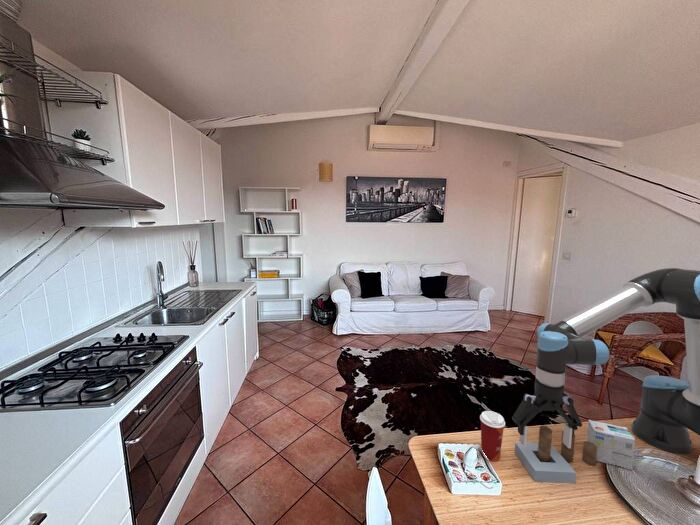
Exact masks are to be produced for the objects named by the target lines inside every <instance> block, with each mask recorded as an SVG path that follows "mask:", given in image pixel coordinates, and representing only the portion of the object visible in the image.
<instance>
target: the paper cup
mask: <svg viewBox="0 0 700 525" xmlns="http://www.w3.org/2000/svg"><path fill="white" fill-rule="evenodd" d="M479 420H480V442H481V444H480V446H481V447H480V448H482V450H483V452H484V453H485V455H486V456H487V458H488V459H489V460H488V461H490V462H498V461H499V460H500V459H501V458H500V457H501V451H502V444H503V436H504V428H505V426H506V421H505V418H504V416H502V415H501V414H500V413H498V412H495V411H492V410H484V411H482V412H481V414H480V415H479Z"/></svg>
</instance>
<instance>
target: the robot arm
mask: <svg viewBox="0 0 700 525" xmlns="http://www.w3.org/2000/svg"><path fill="white" fill-rule="evenodd" d="M657 303H669V304H672V305H675V311H676V312H675V313H676V315H677V316H678V317H679V318H681V319H683V323H684V335H685V336H684V337H685V350H686V351H685V352H686V364H687V365H686V366H687V380H688V382H687V380H686V381H685V380H683V379H681V378H680V379H679V378H676V377H671V376H666V375H665V376H664V375H655V374H653V375H646V376H644V379H643V383H642V385H641V397H640V398H641V400H640V410H639V413H638V414H637V416H636V417H635V419H634V420H633V421H632V424H631V431H632V433H633V434H634V435H635V436H636V437H638V438H639V439H640V440H642V441H643V442H645V443H647V444H649V445H651V446H652V447H655V448H658V449H661V450H664V451H666V452H668V453H669V452H670V453H674V454H680V455H681V454H682V455H685V454H687V455H688V454H690V453H691V452H692V450H693V442H692V440H691V437H690V433H689V430H690V431H692V432H693V433H694V434H696V435H698V436H700V270H695V269H694V270H693V269H686V268H685V269H683V268H677V267H668V268H666V267H665V268H661V269H660V268H659V269H656V270H653V271H649V272H647V273H645V274H644V273H643V274H641V275H639V276H637V277H633V278H631V280H629V281H627V282H625V283H623V285H622V288H620V289H618V290H617V291H615V292H613V293H611V294H609V295H607V296H605V297H603V298H602V299H600V300H597V301H596V302H594V303H592V304H590V305H589V306H586V307H584V308H582V309H581V310H578V311H577V312H575V313H573V314H572V315H570V316H567V317H566V318H564V319H562V320H561V321H558V322H556V323H555V324H554V323H551V322H550V323H549V322H545V323H542V324H540V325H539V326H538V328H537V330H536V335H537V343H536V366H535V379H534V394H533V395H530V394H528V393H524V394H523V399H521V400H522V401H521V402H520V403H519V405H518V406H517V408H516V410H515V412H514V413H513V415H512V417H511V419H512V421H513V422H514V423H515V425H517V433H518V434H519V443H522V444H523V446H526V444H527V443H528V442H527V441H528V429H529V428H528V425H527V424H529V423H530V421H532V420H533V419H534V418H535V417H536V416H537V414H539V413H540V414H541V413H542V412H543V411H544V412H548V411H549V412H555V411H557V412H558V414H559V415H560V416H561V417H562V419H563V420H564V421H565V422H566V423H563V430H564V431H563V430H562V431H563V443H564V444H565V445H566V446H567V447H568V448H571V440H572V437H574V434H575V431H578V429H579V428H581V427H583V424H582V421H581V419H580V417H579V414H578V413H577V410H576V407H575V405H574V399H573V398H572V397H570V396H569V395H568V394H564V392H565V380H566V369H567V368H566V367H567V365H582V366H585V365H587V366H596V365H605V364H607V363H608V361H609V359H610V350H609V347H608V346H607V345H606V344H605V343H604V342H603V341H601V340H599V339H593V338H589V339H588V338H587V339H586V338H583V337H585V336H587V335H589V334H591V333H592V332H595V331H596V330H599V329H601V328H602V327H604V326H606V325H608V324H610V323H612V322H614V321H616V320H617V319H619V318H621V317H622V318H623V317H624V316H626V315H627V314H629V313H631V312H633V311H634V310H635V311H636V310H637V309H639V308H641V307H646V308H647V307H650V306H652V305H654V304H657ZM563 403H564V405H565V407H566V409H567V412H568V413H569V415H570V417H571V418H570V417H569V416H568V415H567V413H566V412H565V410H563V407H561V405H562V404H563ZM578 427H579V428H578Z"/></svg>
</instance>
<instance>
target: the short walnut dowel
mask: <svg viewBox="0 0 700 525" xmlns="http://www.w3.org/2000/svg"><path fill="white" fill-rule="evenodd" d="M596 457H597V446H596V445H595V444H594V443H591V442H588V441H587V440H586V441H584V442H583V451H582V461H583V463H585V464H586V465H589V466H591V467H595V466H596V465H597V461H596Z"/></svg>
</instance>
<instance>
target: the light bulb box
mask: <svg viewBox="0 0 700 525" xmlns="http://www.w3.org/2000/svg"><path fill="white" fill-rule="evenodd" d="M587 421H588V422H587V423H588V424H587V433H586V434H587V435H586V441H588V442H591V443H594V444H595V445H596V446H597V457H596V462H601V463H604V464H607V465H611V464H613V465H612V466H615V465H617V466H616V467H618V466H621V467H620V468H622V467H624V468H623V469H626V468H627V470H631V471H632V470H633V465H634V455H635V446H636V438H635V437H634V436H633V434H632V433H631V432H630V430H629V429H628V427H625V426H621V425H615V424H610V423H605V422H602V421H596V420H592V419H588V420H587ZM608 463H609V464H608Z"/></svg>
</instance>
